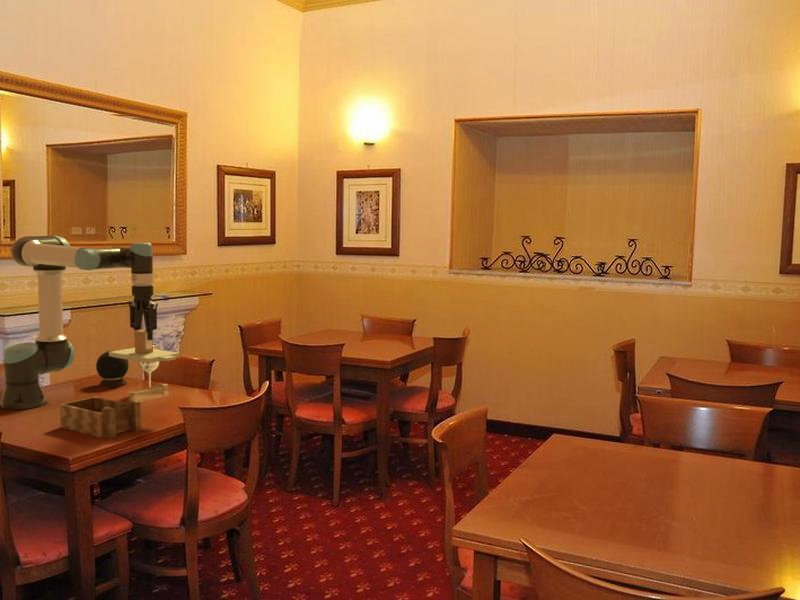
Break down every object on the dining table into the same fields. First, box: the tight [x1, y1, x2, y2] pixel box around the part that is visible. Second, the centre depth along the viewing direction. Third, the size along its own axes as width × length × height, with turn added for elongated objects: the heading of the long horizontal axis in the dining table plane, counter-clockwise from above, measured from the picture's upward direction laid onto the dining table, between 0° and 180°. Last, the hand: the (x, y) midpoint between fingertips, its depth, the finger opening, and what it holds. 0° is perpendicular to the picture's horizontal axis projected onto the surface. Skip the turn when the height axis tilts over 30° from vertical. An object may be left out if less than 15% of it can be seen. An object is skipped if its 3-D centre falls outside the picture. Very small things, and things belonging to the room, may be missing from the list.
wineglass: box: [138, 343, 160, 388], centre depth 313 cm, size 8×8×20 cm
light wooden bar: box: [128, 382, 169, 403], centre depth 262 cm, size 4×14×4 cm, turn 148°
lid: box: [109, 329, 180, 363], centre depth 277 cm, size 26×14×10 cm, turn 57°
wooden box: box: [59, 396, 142, 440], centre depth 260 cm, size 26×14×10 cm, turn 58°
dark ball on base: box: [95, 350, 130, 389], centre depth 326 cm, size 13×13×15 cm
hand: (144, 347), depth 278 cm, fingers closed on lid, 4 cm apart
